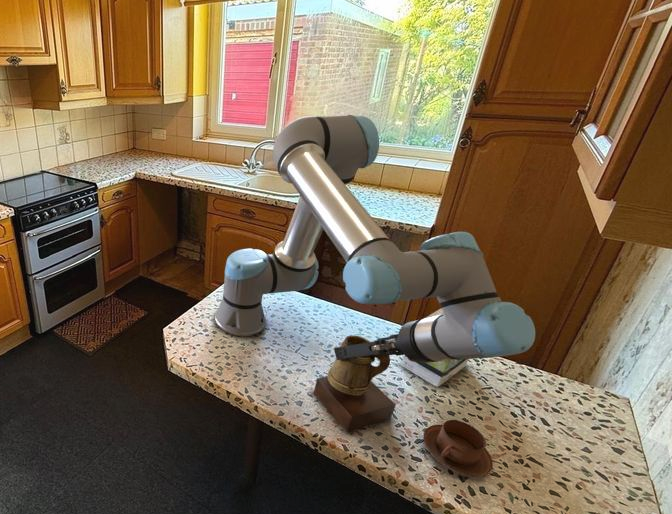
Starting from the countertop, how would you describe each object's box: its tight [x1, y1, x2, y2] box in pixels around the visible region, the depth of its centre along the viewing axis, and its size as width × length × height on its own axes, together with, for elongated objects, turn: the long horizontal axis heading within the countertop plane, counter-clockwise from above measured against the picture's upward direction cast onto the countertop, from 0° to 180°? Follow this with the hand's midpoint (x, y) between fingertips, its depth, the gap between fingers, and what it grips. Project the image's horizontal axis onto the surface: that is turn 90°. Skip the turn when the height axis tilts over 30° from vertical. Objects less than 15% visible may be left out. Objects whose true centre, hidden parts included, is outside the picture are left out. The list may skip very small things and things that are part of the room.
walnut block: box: [313, 375, 397, 433], centre depth 94 cm, size 12×12×5 cm
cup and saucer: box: [423, 419, 494, 478], centre depth 82 cm, size 12×12×6 cm
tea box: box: [400, 307, 470, 388], centre depth 104 cm, size 15×10×15 cm
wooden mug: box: [326, 335, 391, 395], centre depth 88 cm, size 9×14×18 cm, turn 46°
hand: (355, 351), depth 91 cm, fingers closed on wooden mug, 9 cm apart
